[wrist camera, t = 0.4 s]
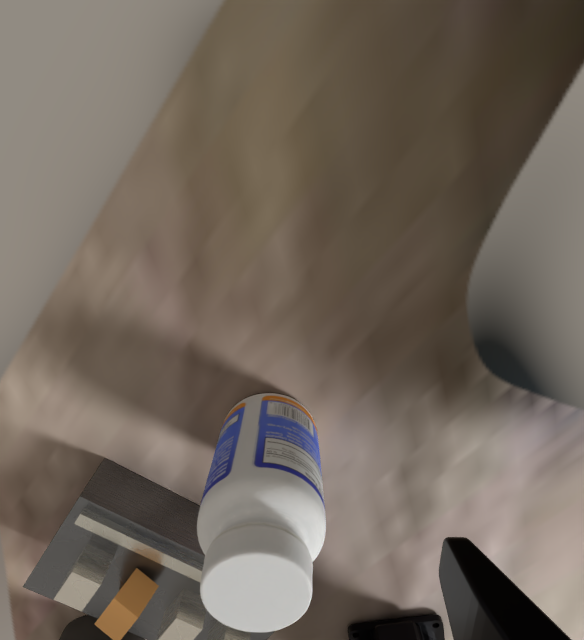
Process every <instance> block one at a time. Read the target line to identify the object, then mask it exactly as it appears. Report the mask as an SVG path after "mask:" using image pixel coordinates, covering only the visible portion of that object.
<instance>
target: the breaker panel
mask: <svg viewBox="0 0 584 640" xmlns="http://www.w3.org/2000/svg"><path fill="white" fill-rule="evenodd" d="M199 509H200V506H199V505H197V504H195V503H193V502H191V501H189V500H187V499H185V498H183V497H181V496H179V495H177V494H175V493H173V492H171V491H169V490H167V489H165V488H163V487H161V486H159V485H157V484H155V483H153V482H151V481H149V480H147V479H145V478H143V477H141V476H139V475H137V474H135V473H133V472H132V471H130V470H128V469H126V468H124V467H122V466H120V465H118V464H116V463H114V462H112V461H110V460H108V459H106V458H104V460H103V461H102V463H101V465H100V466H99V468H98V469H97V471H96V472H95V474H94V475H93V477H92V478H91V480H90V481H89V483H88V485H87V486H86V488H85V489H84V491H83V492H82V494H81V495H80V497H79V498H78V500H77V502H76V503H75V505H74V506H73V508H72V510H71V511H70V513H69V514H68V516H67V517H66V519H65V521H64V522H63V524H62V525H61V527H60V529H59V530H58V532H57V533H56V535H55V536H54V538H53V540H52V541H51V543H50V544H49V546H48V548H47V549H46V551H45V552H44V554H43V556H42V557H41V559H40V560H39V562H38V563H37V565H36V567H35V568H34V570H33V571H32V573H31V575H30V576H29V578H28V579H27V581H26V583H25V584H24V586H23V587H24V588H26V589H29V590H31V591H34V592H36V593H38V594H41V595H43V596H45V597H48V598H50V599H52V600H55V601H57V602H60V603H62V604H64V605H67V606H69V607H71V608H74V609H76V610H78V611H81V612H83V613H86V614H88V615H90V616H93V617H95V618H97V619H99V617H100V616H101V615H102V613H103V612H104V611H105V609H106V608H107V607H108V605H109V604H110V603H111V601H112V600H113V599H114V597H115V596H116V595H117V593H118V592H119V591H120V589H121V588H122V587H123V585H124V584H125V583H126V581H127V580H128V579H129V577H130V576H131V575H132V573H133V572H134V571H135V569H136V568H138V569H139V570H140V571H141V572H142V573H144V574H145V575H146V576H147V577H149V578H150V579H151V580H152V581H153V582H155V583H156V584H157V585H158V586H159V587H158V588H157V590H156V591H155V593H154V594H153V596H152V598H151V599H150V601H149V602H148V604H147V605H146V607H145V608H144V610H143V611H142V613H141V615H140V616H139V618H138V619H137V620H136V621H135V623H134V624H133V625H132V626H131V628H130V629H129V630H128V632H130V633H133V634H135V635H137V636H140V637H142V638H145V639H147V640H267V639H268V638H269V637H270V636H271V635H272V634H273V633H274V632H275V631H271V632H246V631H241V630H237V629H234V628H231V627H229V626H226V625H224V624H223V623H221V622H220V621H218V620H217V619H215V618H214V617H213V616H212V615H211V614H210V613H209V612H208V611H207V609H206V608H205V606H204V604H203V602H202V599H201V596H200V582H201V576H202V571H203V565H204V559H205V554H204V553H203V551H202V549H201V547H200V544H199V541H198V535H197V520H198V513H199Z"/></svg>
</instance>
